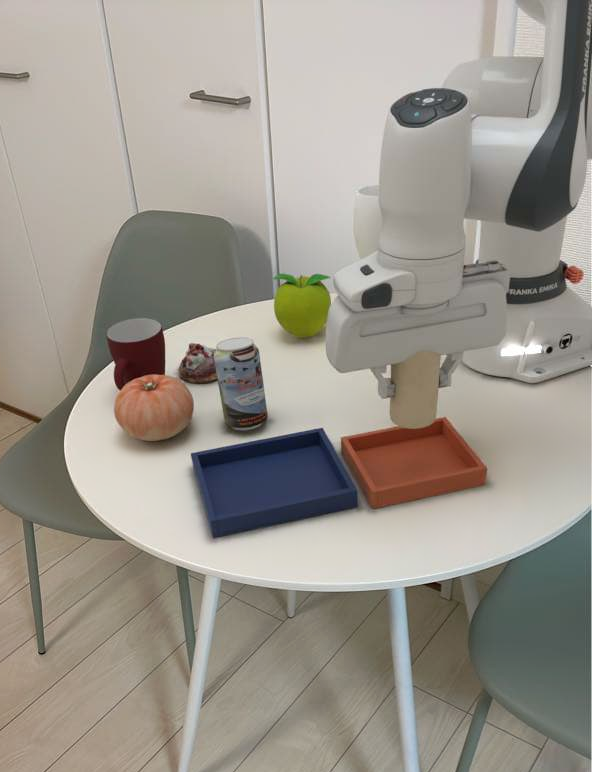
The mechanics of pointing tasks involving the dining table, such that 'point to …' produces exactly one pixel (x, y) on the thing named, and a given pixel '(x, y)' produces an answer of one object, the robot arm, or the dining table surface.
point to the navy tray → (272, 482)
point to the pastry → (198, 364)
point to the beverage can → (240, 383)
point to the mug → (136, 349)
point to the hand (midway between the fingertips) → (413, 390)
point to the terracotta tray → (412, 463)
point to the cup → (367, 220)
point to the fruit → (302, 304)
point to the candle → (415, 390)
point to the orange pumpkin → (154, 407)
